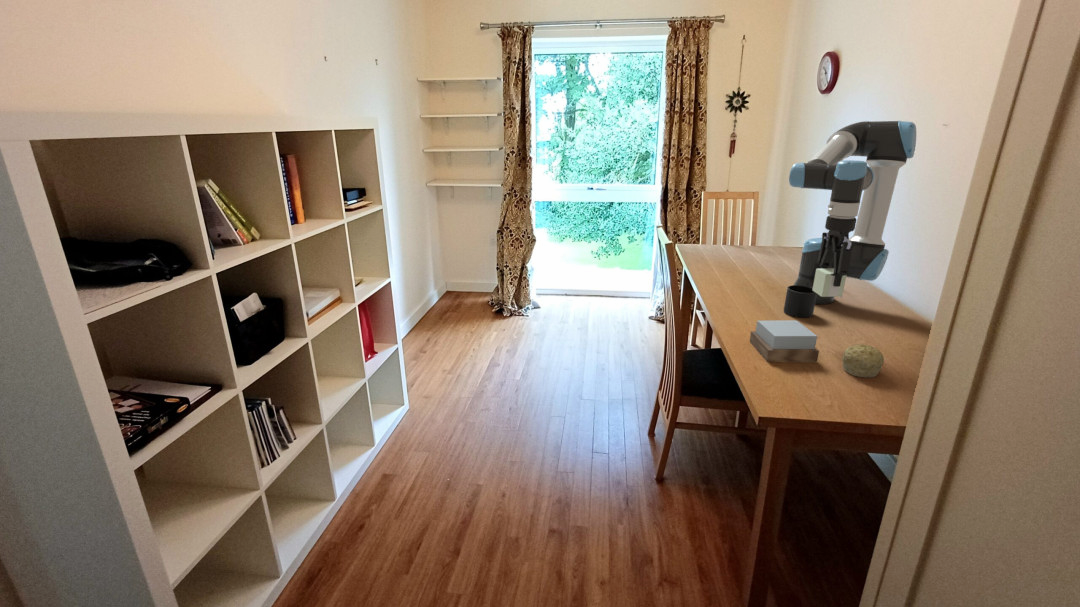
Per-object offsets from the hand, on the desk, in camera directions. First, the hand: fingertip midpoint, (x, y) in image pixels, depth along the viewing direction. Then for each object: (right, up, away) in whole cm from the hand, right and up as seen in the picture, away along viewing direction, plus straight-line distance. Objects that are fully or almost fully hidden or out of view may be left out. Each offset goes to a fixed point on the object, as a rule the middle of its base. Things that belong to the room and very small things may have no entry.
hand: (827, 292), depth 155 cm
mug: (+5, -7, +27) cm, 29 cm away
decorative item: (0, -22, -16) cm, 27 cm away
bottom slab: (-16, -18, -4) cm, 24 cm away
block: (0, 0, 0) cm, 0 cm away
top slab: (-16, -14, -5) cm, 22 cm away
